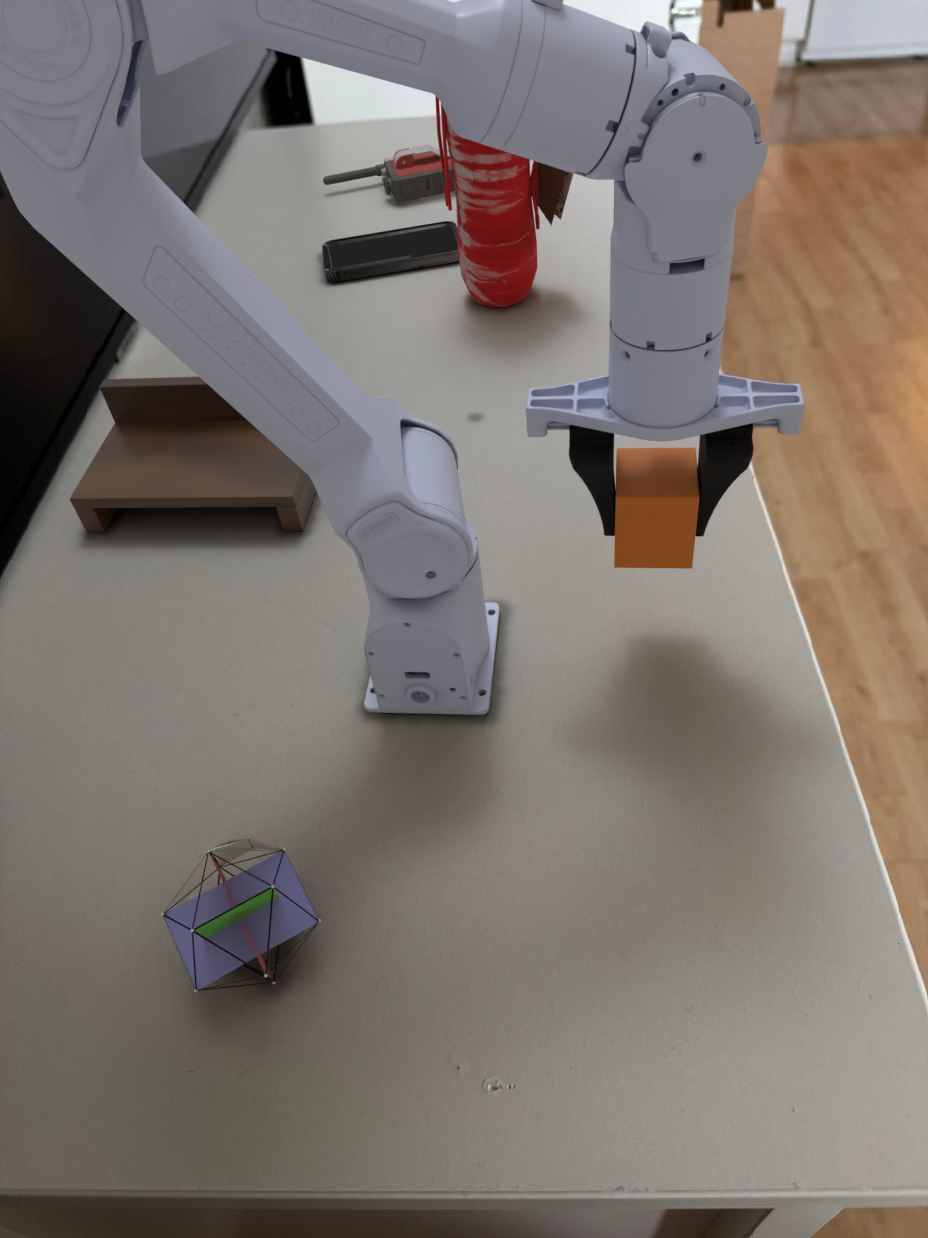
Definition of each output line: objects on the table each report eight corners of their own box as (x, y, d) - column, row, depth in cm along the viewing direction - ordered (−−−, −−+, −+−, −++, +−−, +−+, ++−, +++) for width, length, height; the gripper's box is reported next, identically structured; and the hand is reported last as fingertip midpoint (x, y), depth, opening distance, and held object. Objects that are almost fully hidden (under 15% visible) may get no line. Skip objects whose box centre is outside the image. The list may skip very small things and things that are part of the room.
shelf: (303, 531, 74) (281, 458, 68) (86, 532, 76) (50, 462, 71) (331, 444, 81) (314, 372, 76) (133, 447, 84) (104, 378, 79)
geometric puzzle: (349, 977, 47) (282, 837, 45) (219, 1054, 45) (143, 910, 43) (320, 924, 53) (261, 800, 52) (206, 989, 51) (140, 862, 50)
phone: (321, 241, 106) (454, 219, 106) (323, 251, 106) (455, 228, 107) (324, 273, 100) (464, 250, 100) (327, 283, 101) (465, 260, 101)
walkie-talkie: (479, 158, 120) (324, 188, 118) (476, 120, 117) (316, 151, 115) (497, 184, 114) (333, 217, 112) (494, 146, 111) (326, 179, 109)
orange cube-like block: (692, 568, 57) (699, 497, 53) (614, 568, 57) (615, 497, 54) (689, 518, 60) (695, 447, 56) (615, 517, 61) (616, 447, 57)
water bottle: (571, 267, 98) (566, -14, 80) (579, 306, 93) (575, 13, 75) (455, 279, 99) (424, 2, 81) (456, 318, 93) (423, 30, 75)
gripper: (806, 277, 49) (771, 483, 59) (528, 286, 52) (538, 483, 61) (825, 350, 45) (783, 561, 54) (518, 357, 47) (531, 558, 57)
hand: (653, 525), depth 58 cm, fingers closed on orange cube-like block, 4 cm apart
